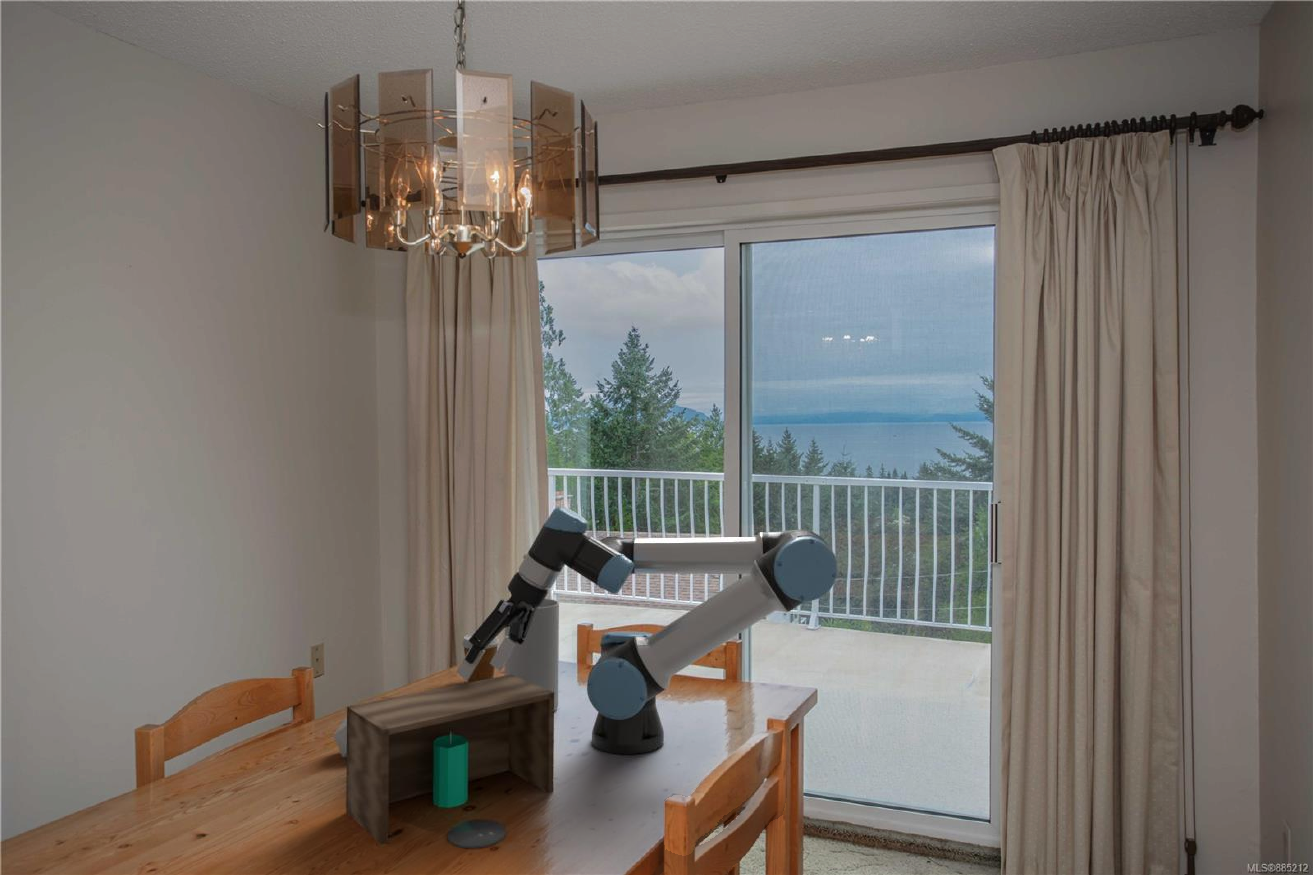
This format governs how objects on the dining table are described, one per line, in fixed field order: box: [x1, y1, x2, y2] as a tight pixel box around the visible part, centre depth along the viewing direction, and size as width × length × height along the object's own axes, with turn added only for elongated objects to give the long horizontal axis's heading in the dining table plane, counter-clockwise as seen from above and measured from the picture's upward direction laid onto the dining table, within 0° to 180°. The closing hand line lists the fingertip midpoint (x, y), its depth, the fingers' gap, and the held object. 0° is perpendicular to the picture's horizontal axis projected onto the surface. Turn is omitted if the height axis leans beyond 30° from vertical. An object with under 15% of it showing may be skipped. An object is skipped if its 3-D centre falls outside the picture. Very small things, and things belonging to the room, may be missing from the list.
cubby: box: [345, 675, 555, 845], centre depth 152 cm, size 15×32×18 cm, turn 130°
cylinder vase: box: [504, 598, 560, 712], centre depth 204 cm, size 12×12×25 cm
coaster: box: [447, 818, 506, 850], centre depth 140 cm, size 9×9×1 cm
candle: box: [432, 732, 469, 808], centre depth 153 cm, size 6×6×12 cm
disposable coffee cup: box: [461, 633, 500, 683], centre depth 226 cm, size 10×10×12 cm
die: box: [332, 715, 347, 759], centre depth 175 cm, size 8×9×10 cm
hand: (479, 671), depth 172 cm, fingers open, 13 cm apart
